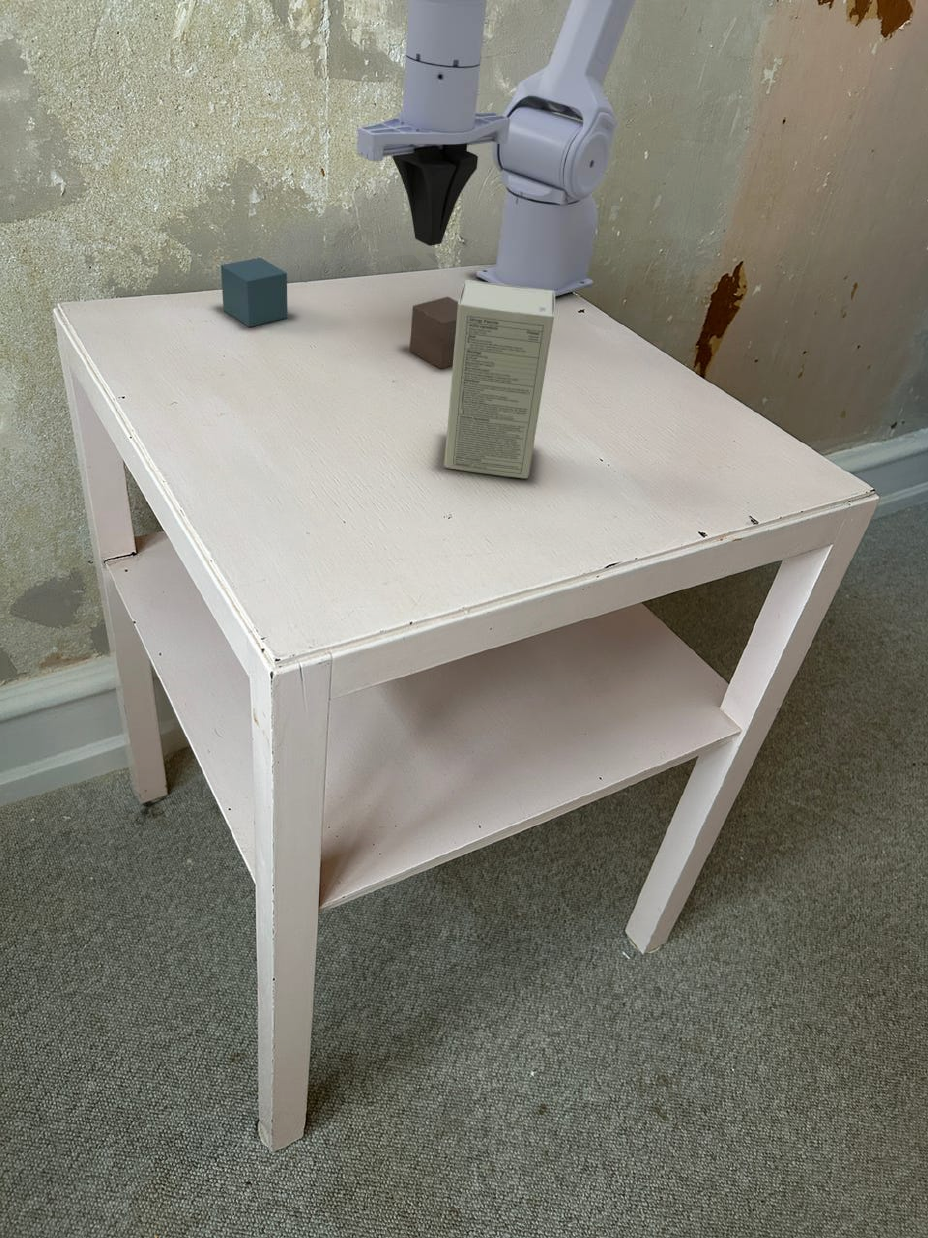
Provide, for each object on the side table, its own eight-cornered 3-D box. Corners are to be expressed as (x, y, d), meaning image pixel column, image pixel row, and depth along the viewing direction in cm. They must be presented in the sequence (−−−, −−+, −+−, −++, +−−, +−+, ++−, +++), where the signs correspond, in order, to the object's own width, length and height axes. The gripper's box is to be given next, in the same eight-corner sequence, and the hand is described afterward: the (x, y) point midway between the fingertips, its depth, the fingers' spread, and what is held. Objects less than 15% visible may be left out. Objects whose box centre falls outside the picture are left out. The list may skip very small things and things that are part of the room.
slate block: (261, 301, 85) (260, 256, 82) (287, 317, 83) (287, 272, 80) (223, 310, 83) (220, 264, 80) (249, 327, 81) (247, 281, 78)
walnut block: (443, 340, 83) (447, 296, 80) (474, 358, 81) (480, 313, 78) (409, 350, 81) (412, 305, 78) (440, 369, 79) (445, 323, 76)
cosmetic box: (530, 450, 70) (559, 289, 62) (528, 482, 67) (558, 316, 59) (446, 438, 70) (464, 276, 62) (439, 469, 67) (457, 301, 59)
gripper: (475, 43, 78) (458, 213, 87) (333, 50, 69) (330, 238, 78) (537, 63, 74) (512, 239, 83) (395, 73, 66) (385, 267, 75)
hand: (428, 240), depth 80 cm, fingers closed
